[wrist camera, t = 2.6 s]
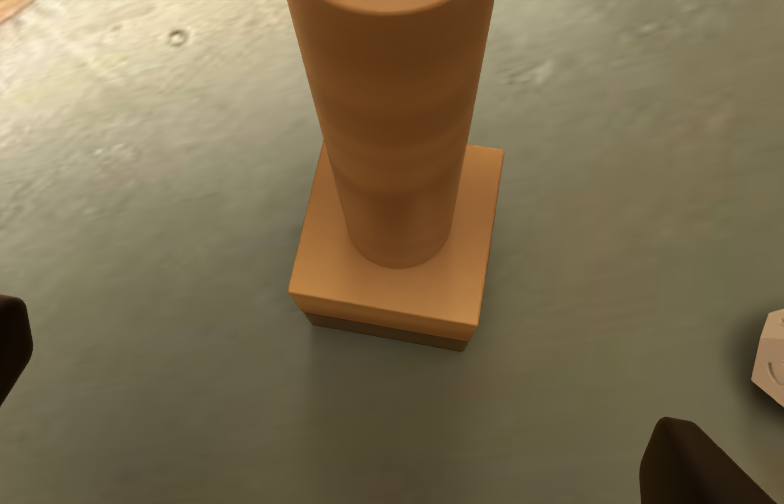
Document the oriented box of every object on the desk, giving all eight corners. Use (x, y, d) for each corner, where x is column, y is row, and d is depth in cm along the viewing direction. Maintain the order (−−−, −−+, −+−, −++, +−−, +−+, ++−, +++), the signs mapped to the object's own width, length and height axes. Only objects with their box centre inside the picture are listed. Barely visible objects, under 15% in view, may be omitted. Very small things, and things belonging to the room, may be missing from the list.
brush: (463, 352, 21) (583, 135, 7) (311, 324, 22) (118, 64, 7) (486, 207, 23) (623, -224, 8) (342, 183, 23) (233, -268, 9)
